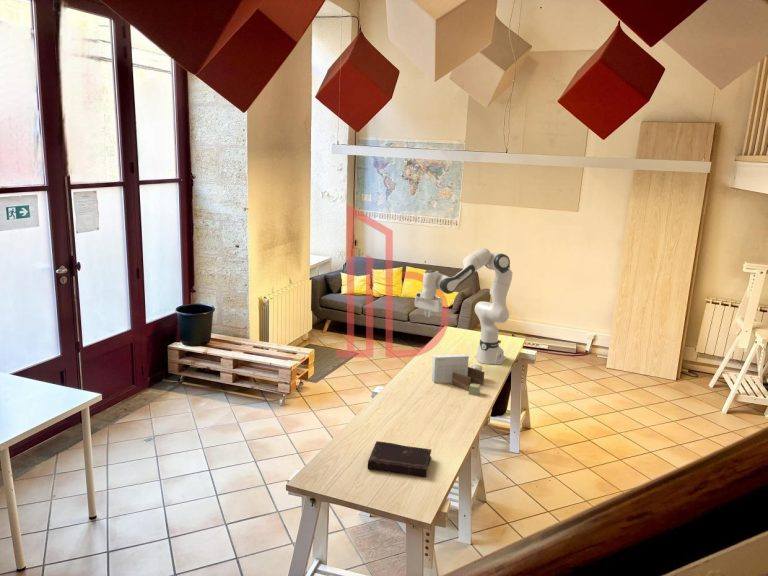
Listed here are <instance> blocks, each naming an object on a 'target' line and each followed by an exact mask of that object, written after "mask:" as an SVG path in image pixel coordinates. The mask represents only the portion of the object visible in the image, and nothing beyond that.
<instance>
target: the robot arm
mask: <svg viewBox="0 0 768 576" xmlns="http://www.w3.org/2000/svg"><path fill="white" fill-rule="evenodd" d="M510 264H511V260H510V257H509V256H508V255H507V254H505V253H498V252H495V253H491V251H490V250H489V249H488V248H486V247H483V248H482V247H481V248H479V249H477V250H475V251H473V252H471V253H470V254H468V255H467V256H465V257H464V259H463V260H462V267H463V268H462V270H461V271H459V272H457V273H456V274H455V275H454V276H451V277H450V276H448V275H446V274H443V273H440V272H439V271H438V270H436V269H427V270H425V271H424V273H423V278H422V290H421V291H420V292H418V291H417V292H416V293H415V298H414V306H415V307H414V308H418V309H421V310H422V309H423V311H424V316H425V317H427V318H430V317H431V315H432V313H433V312H434V313H437V314H438V313H441V312H443V300H442V298H441V297H437V290H440V291H441V292H442V293H445V294H446V295H450V294H453V293H454V292H455V291H456V290H457V289H458V287H459V286H460V285H461V284H463V283H464V282H465V281H466V280H468V279H469V278H470V277H472V276H473V274H475V272H476V271H478V270H480V269H481V268H483V267H484V266H485V267H486V268H487V269H488V270H491V271H492V270H493V271H494V272H495V273H494V278H493V281H492V284H491V287H490V289H489V294H490V296H491V299H492V300H491V301H492V302H488V301H485V300H484V301H478V302H476V304H475V306H474V314H476V316H477V318H478V320H479V323H480V331H481V332H480V339H479V346H477V352H476V355H475V356H474V358H475V359H476V362H478V363H480V364H481V363H482V364H485V365H501V364H502V363H504V362H505V361H507V360H508V356H505V355H504V354H505V352H504V350H503V348H501V346H500V344H501V343H502V340H501V339H500V340H499V328H498V327H497V325H496V324H495V323H499V324H500V323H501V324H504V323H506V322H507V321H508V320H509V317H510V312H509V310H508V307H507V296H508V292H509V289H510V287H511V283H512V279H513V271H512V269H511V266H510Z"/></svg>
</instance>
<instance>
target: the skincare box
mask: <svg viewBox="0 0 768 576" xmlns="http://www.w3.org/2000/svg"><path fill="white" fill-rule="evenodd" d="M469 358H470V356H469V355H468V354H466V353H464V354H463V353H461V354H459V353H457V354H456V353H455V354H434V355H432V371H431V372H432V373H431V381H432V382H433V384H445V383H446V384H447V383H452V375H453V372H455V373H458V374H461V375H465V376H468V367H469Z"/></svg>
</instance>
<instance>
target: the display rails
mask: <svg viewBox="0 0 768 576" xmlns="http://www.w3.org/2000/svg"><path fill="white" fill-rule="evenodd" d="M484 380H485V371H483V370H482V371H480V370H477V369H474V368H472V366H471V367H470V366H468V376H465V375H461V374H458V373H455V372H453V375H452V382H451V386H453V387H456V388H458V389H461V390H463V391H467V392H469V386H470V385H471V383H473V384H479V385H480V386H483V385H484V382H485V381H484Z"/></svg>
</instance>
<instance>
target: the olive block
mask: <svg viewBox="0 0 768 576" xmlns="http://www.w3.org/2000/svg"><path fill="white" fill-rule="evenodd" d="M480 390H481V385H480V384H477V383H474V382H471V383H470V386H469V391H468V395H470V396H476V397H478V396H479V394H480V392H481V391H480Z"/></svg>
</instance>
